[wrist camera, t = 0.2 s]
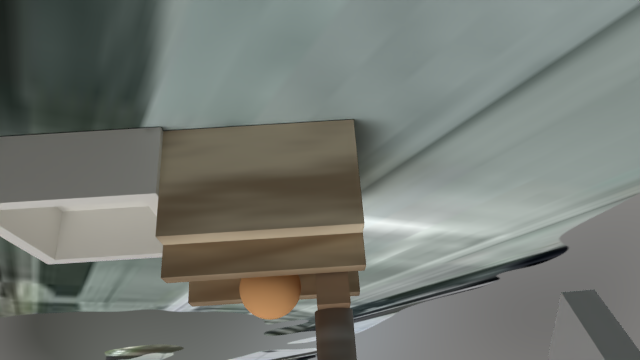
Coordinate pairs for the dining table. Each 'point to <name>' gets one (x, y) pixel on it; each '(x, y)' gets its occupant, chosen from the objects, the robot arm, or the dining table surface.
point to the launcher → (259, 207)
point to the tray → (82, 194)
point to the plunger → (334, 317)
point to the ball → (270, 295)
